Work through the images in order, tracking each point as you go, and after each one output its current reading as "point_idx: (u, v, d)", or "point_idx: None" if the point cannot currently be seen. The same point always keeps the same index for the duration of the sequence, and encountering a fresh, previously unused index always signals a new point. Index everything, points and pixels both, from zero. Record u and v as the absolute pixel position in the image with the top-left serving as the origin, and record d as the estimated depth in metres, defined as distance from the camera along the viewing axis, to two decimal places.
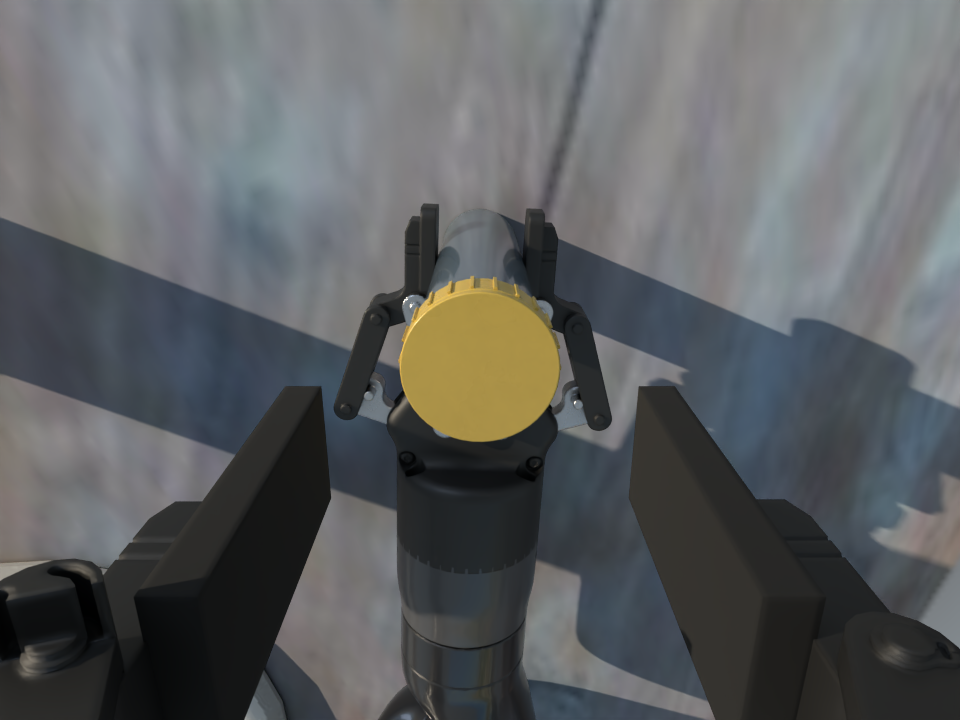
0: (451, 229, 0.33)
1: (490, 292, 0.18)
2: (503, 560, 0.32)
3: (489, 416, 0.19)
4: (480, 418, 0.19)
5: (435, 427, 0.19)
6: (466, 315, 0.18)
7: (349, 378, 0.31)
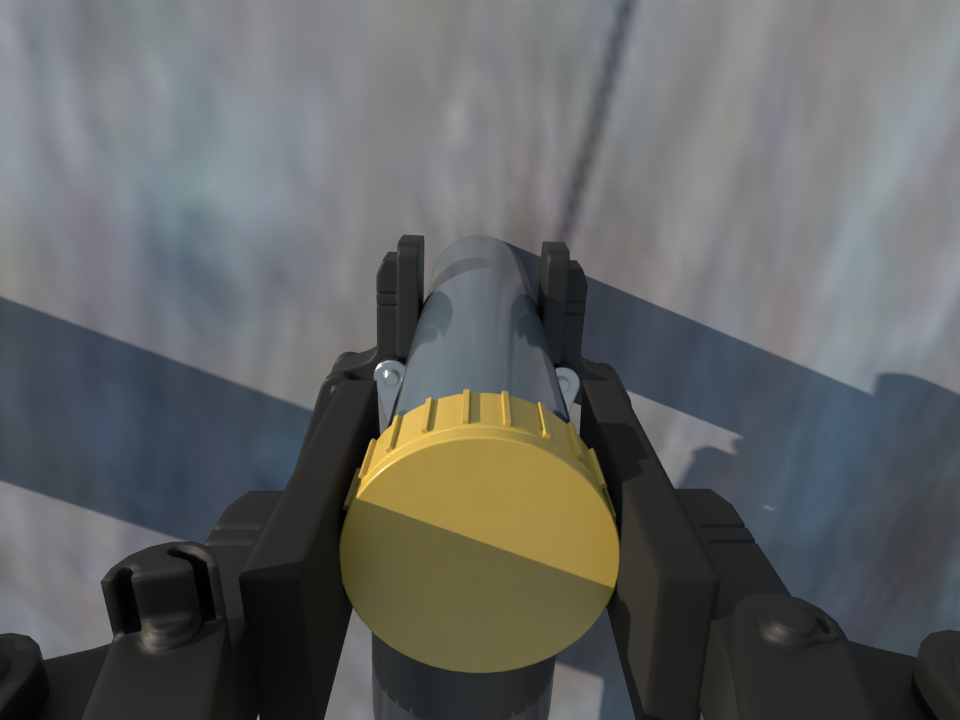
0: (442, 266, 0.25)
1: (498, 436, 0.10)
2: (511, 707, 0.24)
3: (495, 635, 0.11)
4: (480, 637, 0.11)
5: (402, 652, 0.11)
6: (454, 475, 0.10)
7: None
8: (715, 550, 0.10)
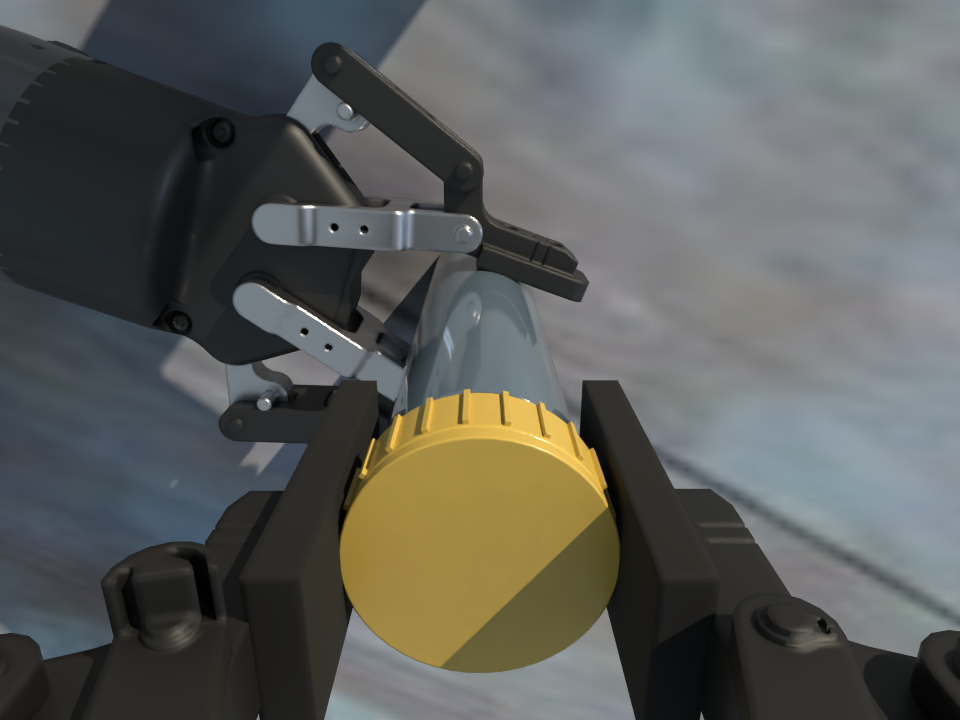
0: None
1: (498, 435, 0.10)
2: (10, 254, 0.19)
3: (495, 635, 0.11)
4: (480, 637, 0.11)
5: (402, 652, 0.11)
6: (455, 475, 0.10)
7: (382, 92, 0.19)
8: (715, 550, 0.10)
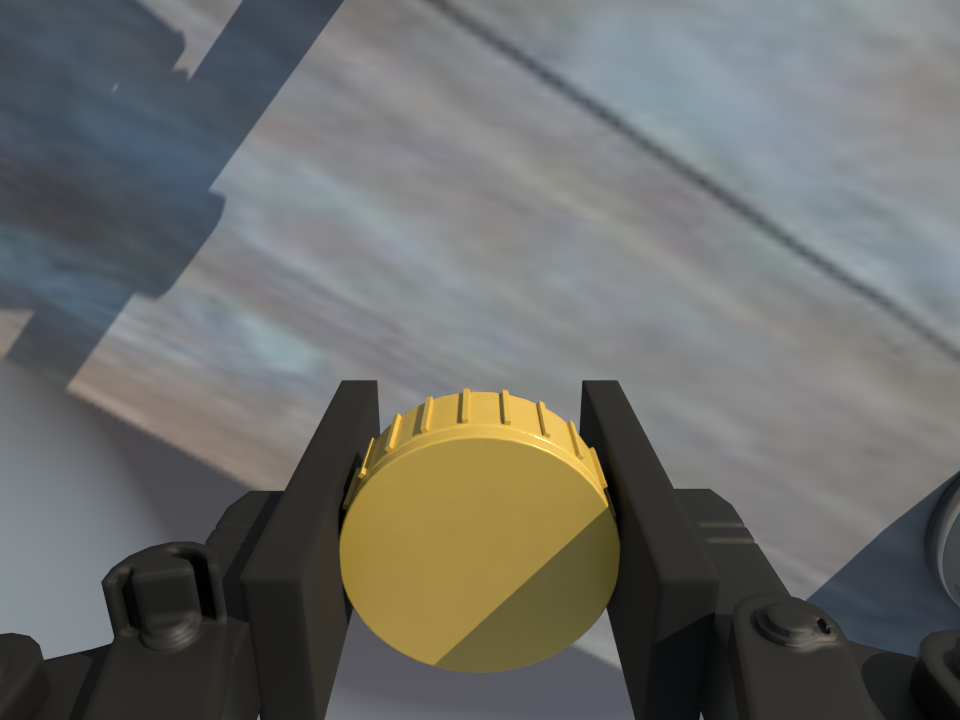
0: None
1: (498, 435, 0.10)
2: None
3: (495, 634, 0.11)
4: (480, 637, 0.11)
5: (402, 651, 0.11)
6: (454, 474, 0.10)
7: None
8: (715, 550, 0.10)
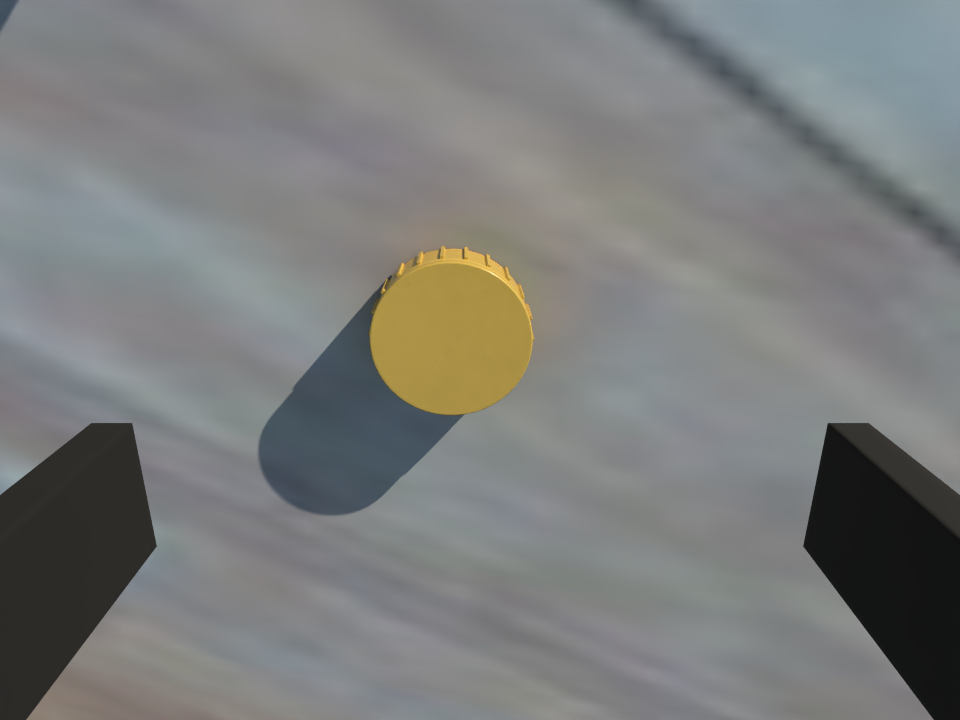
0: None
1: (460, 262, 0.17)
2: None
3: (461, 389, 0.19)
4: (452, 391, 0.19)
5: (407, 401, 0.19)
6: (436, 286, 0.18)
7: None
8: None
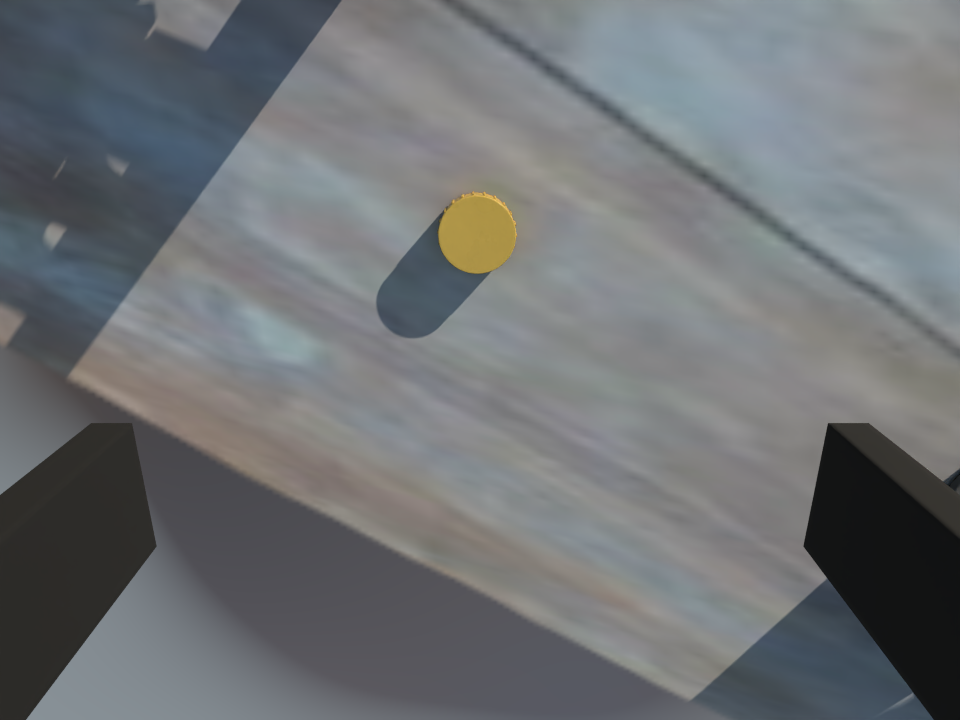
0: None
1: (481, 196, 0.38)
2: None
3: (481, 259, 0.39)
4: (477, 261, 0.39)
5: (455, 265, 0.39)
6: (470, 207, 0.38)
7: None
8: None
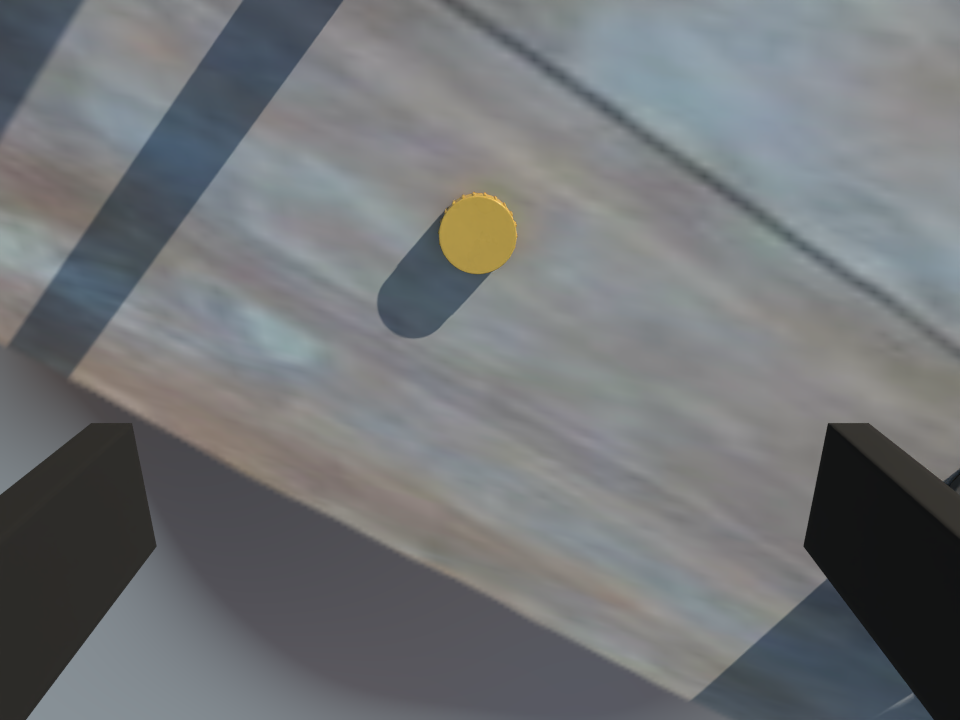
0: None
1: (482, 196, 0.38)
2: None
3: (482, 260, 0.39)
4: (477, 261, 0.39)
5: (455, 266, 0.39)
6: (471, 208, 0.38)
7: None
8: None
